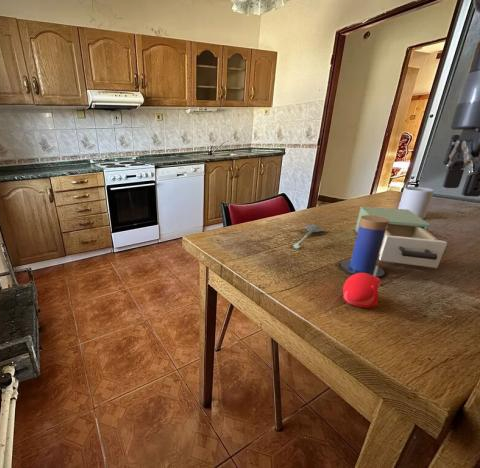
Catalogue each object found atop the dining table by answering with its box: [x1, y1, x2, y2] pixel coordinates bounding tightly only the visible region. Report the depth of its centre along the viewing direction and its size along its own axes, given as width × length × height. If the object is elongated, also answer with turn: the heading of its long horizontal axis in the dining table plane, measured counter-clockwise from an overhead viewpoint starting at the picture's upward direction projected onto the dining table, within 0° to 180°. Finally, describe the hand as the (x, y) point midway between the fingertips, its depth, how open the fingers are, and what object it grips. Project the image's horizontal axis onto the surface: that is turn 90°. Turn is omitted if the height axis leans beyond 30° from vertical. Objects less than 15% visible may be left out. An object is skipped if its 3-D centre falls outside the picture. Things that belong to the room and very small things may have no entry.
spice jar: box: [349, 215, 389, 272], centre depth 63 cm, size 5×5×13 cm
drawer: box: [378, 224, 448, 269], centre depth 68 cm, size 19×11×7 cm, turn 156°
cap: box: [342, 273, 382, 308], centre depth 52 cm, size 8×6×6 cm
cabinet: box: [354, 206, 431, 233], centre depth 80 cm, size 16×13×9 cm
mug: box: [397, 186, 435, 220], centre depth 101 cm, size 12×8×11 cm
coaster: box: [340, 259, 385, 279], centre depth 65 cm, size 9×9×1 cm
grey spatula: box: [293, 224, 326, 249], centre depth 84 cm, size 22×3×7 cm
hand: (459, 191), depth 50 cm, fingers open, 8 cm apart
